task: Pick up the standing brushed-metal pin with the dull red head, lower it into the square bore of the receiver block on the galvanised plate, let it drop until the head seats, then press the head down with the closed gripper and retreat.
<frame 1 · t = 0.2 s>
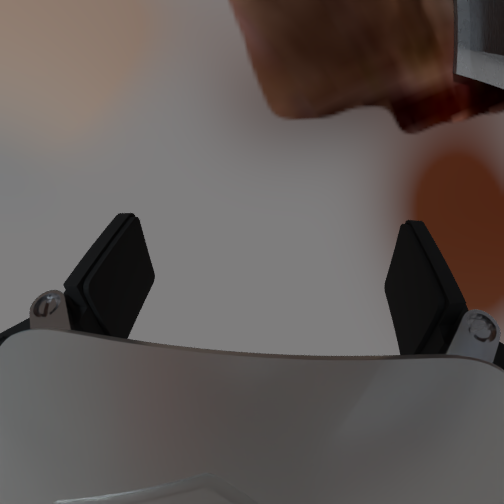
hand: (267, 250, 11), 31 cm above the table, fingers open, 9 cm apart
receiver: (494, 27, 22), on the table
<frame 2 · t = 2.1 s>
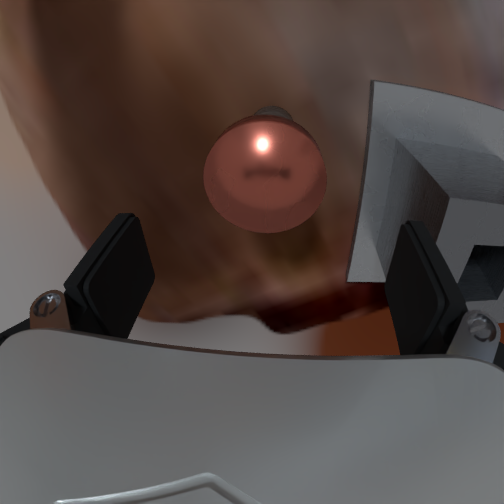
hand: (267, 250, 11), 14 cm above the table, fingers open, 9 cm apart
receiver: (435, 196, 23), on the table
pin: (272, 126, 21), on the table
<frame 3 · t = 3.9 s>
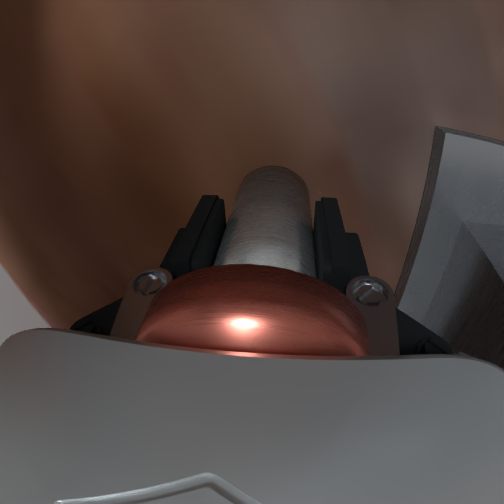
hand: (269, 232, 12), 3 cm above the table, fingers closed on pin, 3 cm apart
receiver: (490, 285, 15), on the table
pin: (273, 199, 14), on the table, touching gripper
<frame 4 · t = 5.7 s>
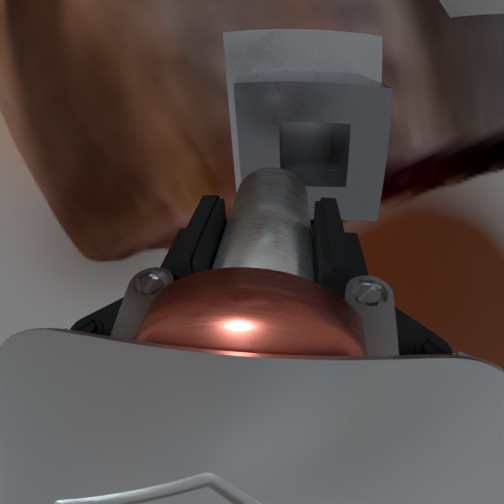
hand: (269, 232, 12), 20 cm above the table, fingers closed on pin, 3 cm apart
receiver: (305, 120, 27), on the table
pin: (272, 200, 14), point 17 cm above the table, touching gripper
when the fingers open (11 cm above the table, at t = 7.9 s): pin drops 5 cm, resting on receiver.
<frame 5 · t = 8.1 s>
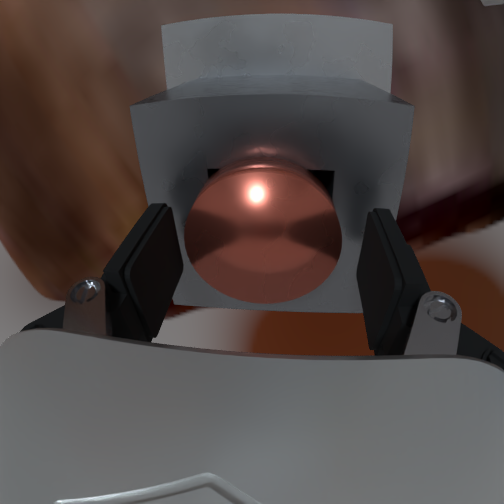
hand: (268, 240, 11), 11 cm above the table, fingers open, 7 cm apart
receiver: (279, 145, 20), on the table
pin: (269, 157, 19), point 2 cm above the table, touching receiver
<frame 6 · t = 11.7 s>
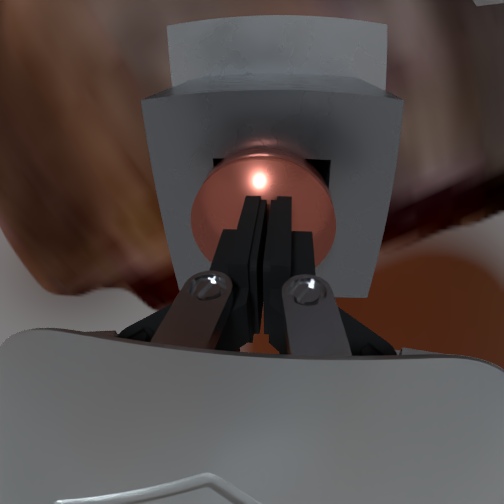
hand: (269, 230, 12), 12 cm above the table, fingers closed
receiver: (279, 140, 21), on the table
pin: (274, 150, 19), point 2 cm above the table, touching receiver
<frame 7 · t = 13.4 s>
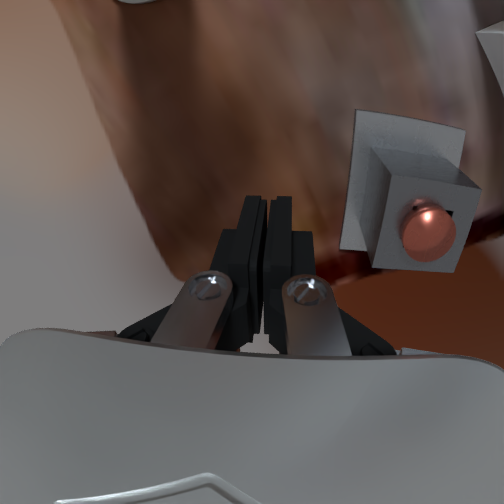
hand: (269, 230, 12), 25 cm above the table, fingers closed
receiver: (401, 187, 35), on the table
pin: (403, 194, 33), point 2 cm above the table, touching receiver
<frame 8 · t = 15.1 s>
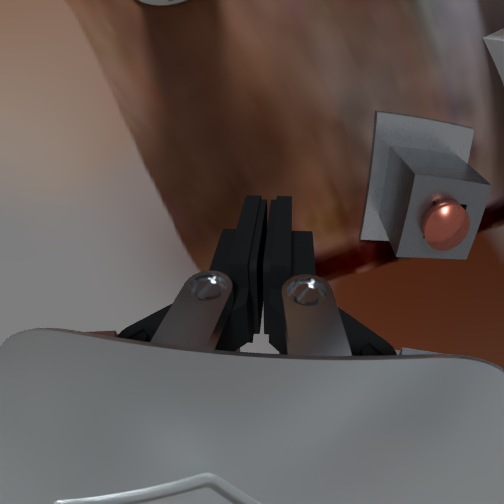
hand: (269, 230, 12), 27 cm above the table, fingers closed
receiver: (416, 182, 37), on the table
pin: (419, 188, 35), point 2 cm above the table, touching receiver
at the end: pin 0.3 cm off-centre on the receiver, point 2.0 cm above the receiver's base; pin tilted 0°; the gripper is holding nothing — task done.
